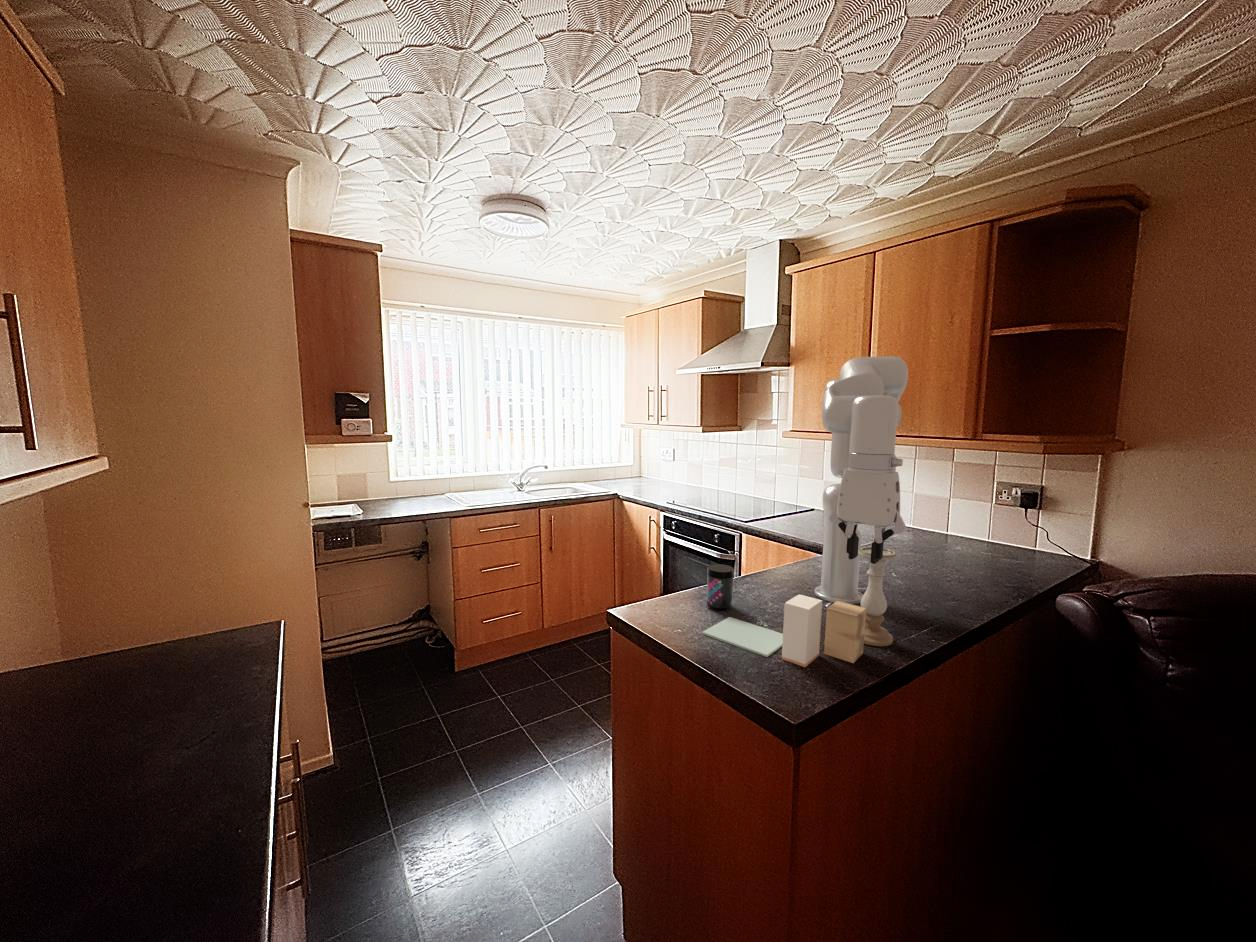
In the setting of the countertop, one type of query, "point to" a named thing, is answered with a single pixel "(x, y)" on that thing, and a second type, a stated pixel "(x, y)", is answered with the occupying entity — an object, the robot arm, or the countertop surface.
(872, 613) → the candle holder
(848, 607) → the oak block
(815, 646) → the cream block
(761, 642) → the mat
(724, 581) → the supplement container
